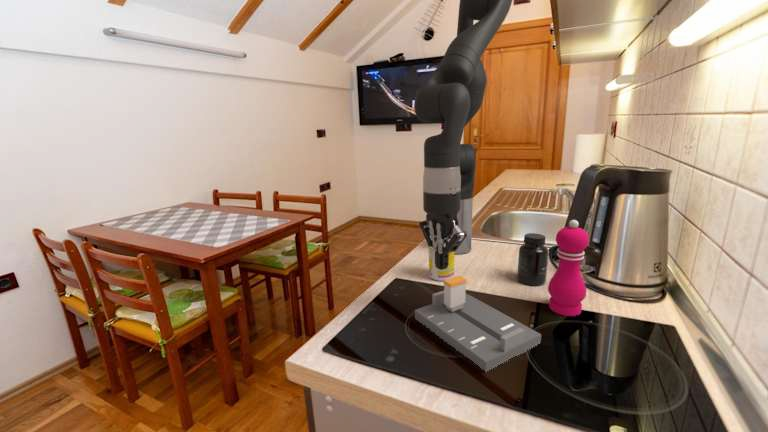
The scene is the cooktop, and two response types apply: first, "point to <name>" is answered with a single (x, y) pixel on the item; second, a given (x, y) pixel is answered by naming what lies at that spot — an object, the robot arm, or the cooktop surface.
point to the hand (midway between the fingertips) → (441, 268)
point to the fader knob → (454, 292)
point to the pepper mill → (569, 271)
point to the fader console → (478, 331)
